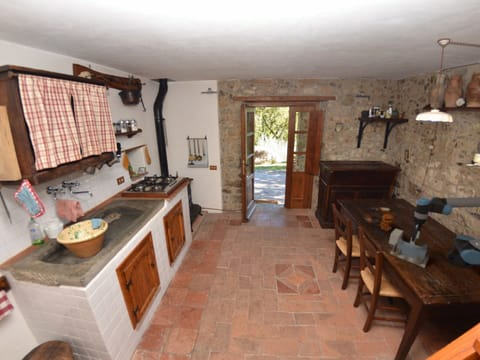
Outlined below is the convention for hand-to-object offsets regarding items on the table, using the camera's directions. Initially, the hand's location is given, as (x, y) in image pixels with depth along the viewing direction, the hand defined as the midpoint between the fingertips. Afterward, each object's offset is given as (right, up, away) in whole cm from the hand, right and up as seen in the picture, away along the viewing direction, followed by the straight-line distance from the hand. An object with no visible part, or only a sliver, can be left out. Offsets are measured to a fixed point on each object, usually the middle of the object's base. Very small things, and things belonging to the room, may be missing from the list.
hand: (414, 241), depth 173 cm
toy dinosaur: (+7, -1, +46) cm, 46 cm away
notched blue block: (0, -13, +4) cm, 14 cm away
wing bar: (+2, -8, +25) cm, 26 cm away
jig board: (0, -14, +5) cm, 15 cm away
